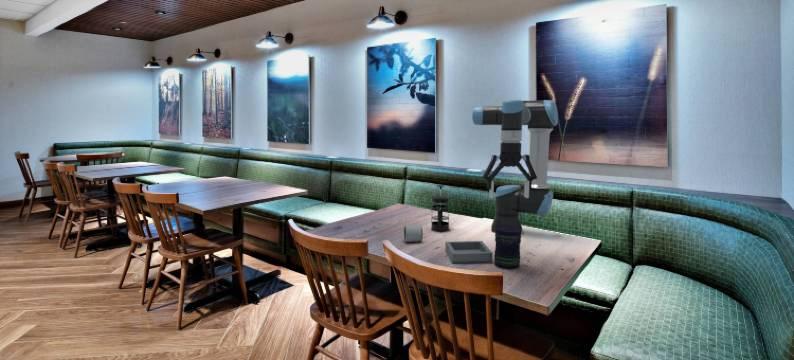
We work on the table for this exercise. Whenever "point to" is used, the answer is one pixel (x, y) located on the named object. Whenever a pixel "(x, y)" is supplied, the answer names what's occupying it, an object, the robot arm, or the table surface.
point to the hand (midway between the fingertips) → (508, 197)
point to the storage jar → (507, 247)
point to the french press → (440, 213)
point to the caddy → (468, 252)
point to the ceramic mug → (413, 233)
